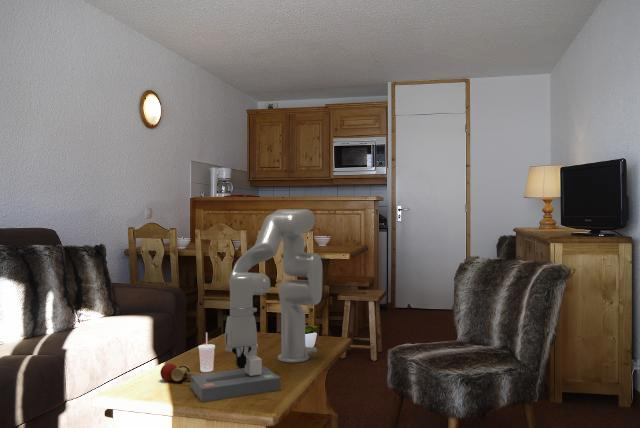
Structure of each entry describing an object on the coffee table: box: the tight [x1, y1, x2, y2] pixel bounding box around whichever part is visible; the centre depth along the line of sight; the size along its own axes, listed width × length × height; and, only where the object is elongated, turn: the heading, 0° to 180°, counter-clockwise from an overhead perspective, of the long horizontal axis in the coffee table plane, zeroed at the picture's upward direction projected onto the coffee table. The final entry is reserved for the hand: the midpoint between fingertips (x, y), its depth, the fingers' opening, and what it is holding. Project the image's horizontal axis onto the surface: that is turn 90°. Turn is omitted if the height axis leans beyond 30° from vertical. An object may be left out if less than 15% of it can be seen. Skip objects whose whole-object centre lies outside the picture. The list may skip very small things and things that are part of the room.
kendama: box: [159, 363, 207, 382], centre depth 190 cm, size 8×6×18 cm
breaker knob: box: [245, 354, 263, 376], centre depth 183 cm, size 4×6×5 cm, turn 26°
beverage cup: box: [198, 332, 216, 373], centre depth 203 cm, size 6×6×14 cm
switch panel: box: [189, 365, 281, 403], centre depth 182 cm, size 26×19×4 cm
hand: (241, 367), depth 181 cm, fingers closed
